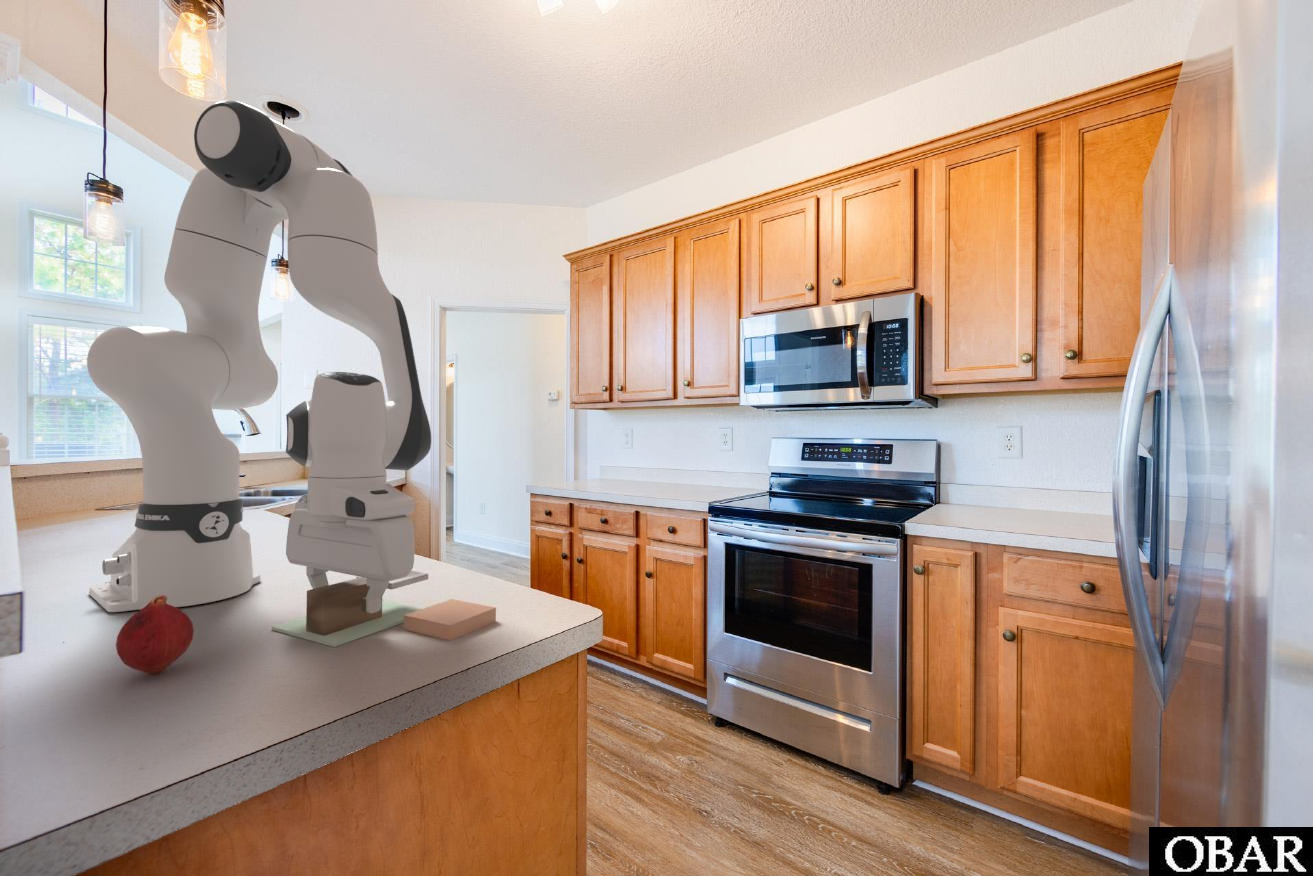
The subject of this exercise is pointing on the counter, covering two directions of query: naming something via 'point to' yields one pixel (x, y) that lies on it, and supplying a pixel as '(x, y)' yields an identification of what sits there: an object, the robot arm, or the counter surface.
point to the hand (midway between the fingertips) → (346, 605)
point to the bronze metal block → (345, 604)
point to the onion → (154, 637)
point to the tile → (449, 619)
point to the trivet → (390, 617)
